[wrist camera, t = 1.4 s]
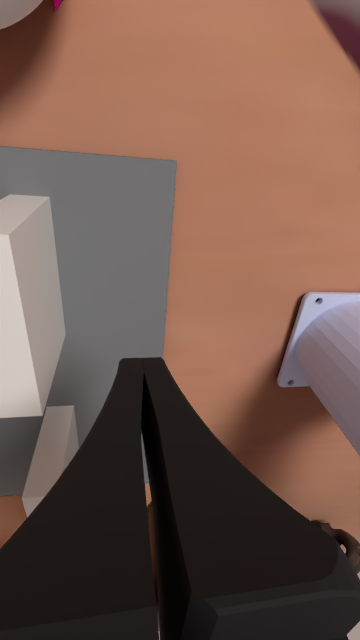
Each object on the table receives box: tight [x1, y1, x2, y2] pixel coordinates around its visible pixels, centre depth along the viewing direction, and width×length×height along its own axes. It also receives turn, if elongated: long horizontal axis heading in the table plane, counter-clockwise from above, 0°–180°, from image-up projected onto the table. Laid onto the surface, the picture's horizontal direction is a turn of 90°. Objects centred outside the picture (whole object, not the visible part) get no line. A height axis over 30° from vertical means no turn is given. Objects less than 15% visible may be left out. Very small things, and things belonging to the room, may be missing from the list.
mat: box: [0, 146, 177, 497], centre depth 21 cm, size 15×26×1 cm, turn 175°
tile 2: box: [22, 405, 79, 518], centre depth 22 cm, size 2×8×6 cm, turn 175°
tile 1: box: [0, 194, 66, 418], centre depth 15 cm, size 2×8×6 cm, turn 175°
